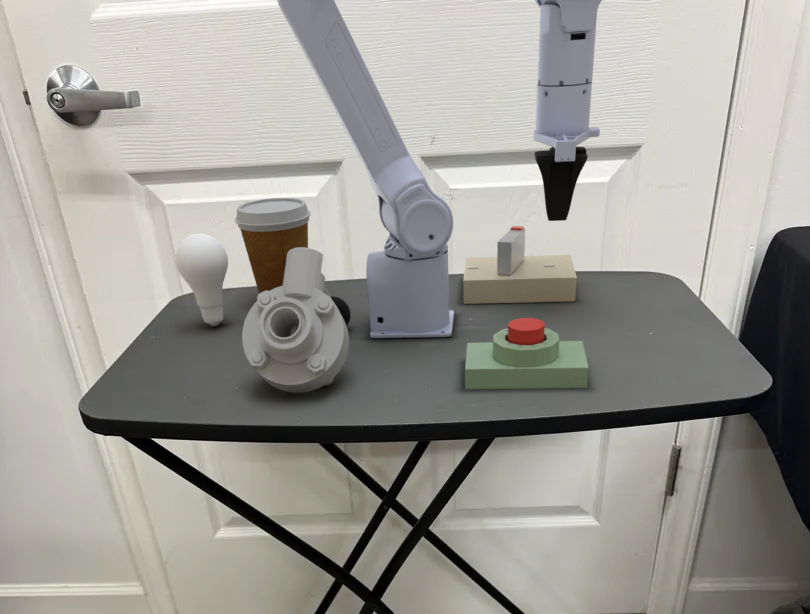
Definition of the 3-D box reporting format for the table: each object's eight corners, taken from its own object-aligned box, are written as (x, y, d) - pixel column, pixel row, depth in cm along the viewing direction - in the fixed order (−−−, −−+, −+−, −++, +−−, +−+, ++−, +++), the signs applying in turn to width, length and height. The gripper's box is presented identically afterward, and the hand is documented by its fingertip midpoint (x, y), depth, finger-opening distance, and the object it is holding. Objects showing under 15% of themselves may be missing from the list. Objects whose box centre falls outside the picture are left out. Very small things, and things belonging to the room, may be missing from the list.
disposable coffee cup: (261, 289, 108) (246, 197, 101) (327, 289, 107) (317, 195, 100) (239, 312, 100) (222, 215, 93) (311, 312, 99) (298, 213, 92)
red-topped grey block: (510, 275, 97) (511, 240, 95) (496, 274, 98) (497, 239, 95) (524, 259, 102) (525, 226, 100) (511, 259, 103) (511, 225, 100)
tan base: (463, 305, 98) (463, 280, 96) (466, 278, 107) (465, 255, 105) (575, 303, 96) (577, 277, 95) (568, 276, 105) (570, 252, 104)
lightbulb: (249, 323, 97) (233, 231, 91) (208, 337, 93) (189, 243, 87) (220, 313, 100) (203, 225, 94) (180, 327, 97) (159, 236, 91)
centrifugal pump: (364, 429, 92) (380, 307, 93) (330, 380, 72) (350, 227, 74) (280, 421, 93) (297, 301, 94) (225, 370, 74) (247, 220, 75)
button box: (465, 389, 77) (464, 351, 75) (467, 362, 83) (466, 326, 81) (587, 388, 76) (590, 349, 74) (580, 360, 82) (583, 323, 79)
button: (507, 348, 76) (508, 330, 75) (507, 334, 79) (507, 318, 78) (544, 347, 76) (545, 330, 75) (543, 334, 79) (543, 317, 78)
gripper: (611, 88, 75) (598, 234, 83) (596, 75, 87) (586, 203, 95) (537, 92, 76) (532, 236, 84) (532, 78, 88) (528, 205, 95)
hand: (556, 219), depth 89 cm, fingers closed
